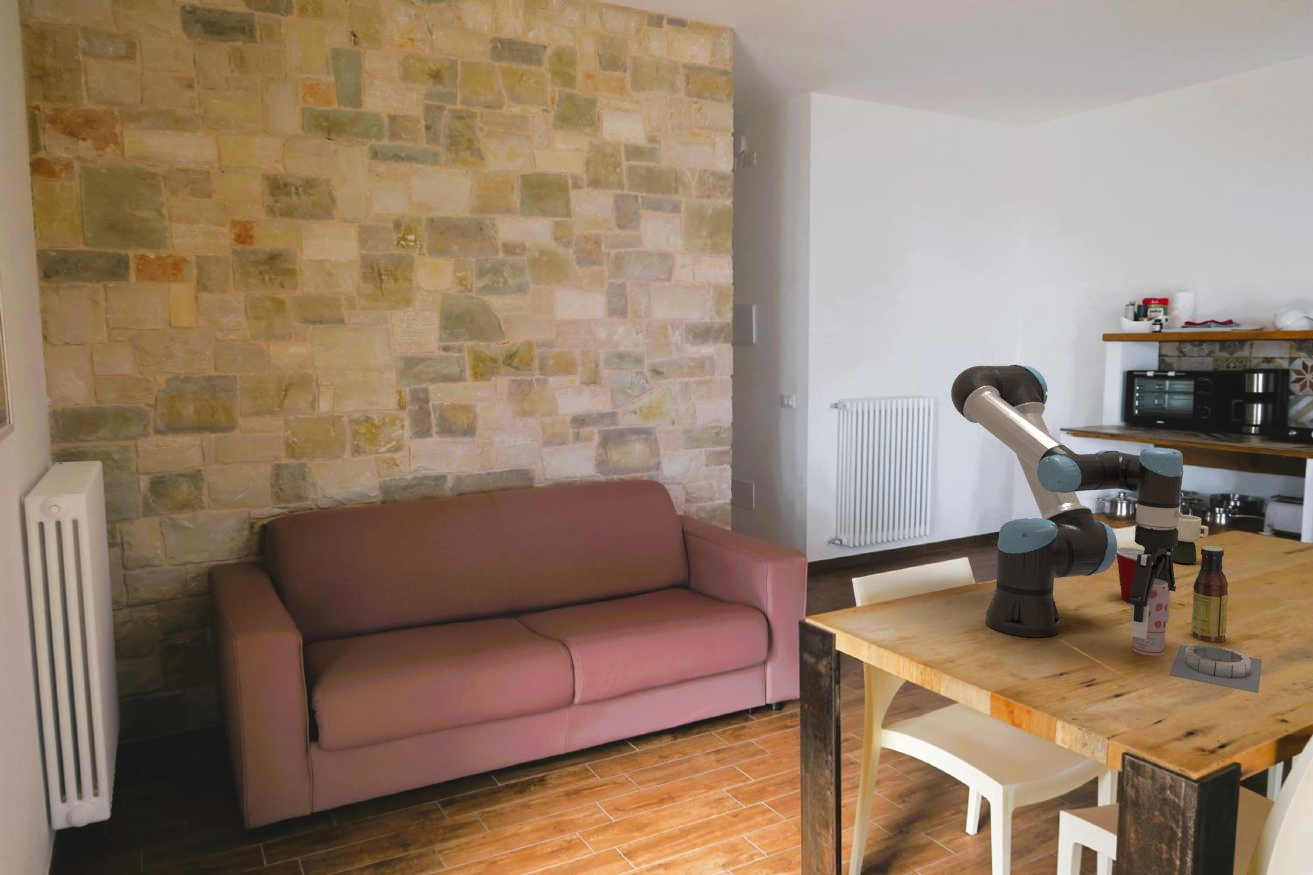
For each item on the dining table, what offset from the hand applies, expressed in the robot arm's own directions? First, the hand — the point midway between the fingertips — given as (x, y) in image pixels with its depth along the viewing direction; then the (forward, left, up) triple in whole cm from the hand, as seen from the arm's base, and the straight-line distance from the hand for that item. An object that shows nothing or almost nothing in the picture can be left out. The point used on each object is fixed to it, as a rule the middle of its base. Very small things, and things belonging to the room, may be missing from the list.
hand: (1150, 629), depth 181 cm
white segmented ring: (+7, -10, -5) cm, 13 cm away
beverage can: (0, 0, -5) cm, 5 cm away
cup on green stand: (+59, +61, -5) cm, 85 cm away
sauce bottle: (+18, +5, -5) cm, 19 cm away
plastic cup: (+22, +32, -5) cm, 39 cm away
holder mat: (+7, -10, -5) cm, 13 cm away
